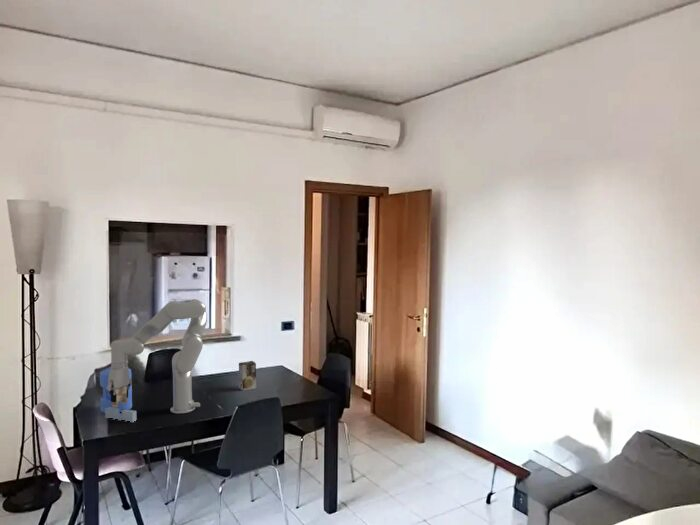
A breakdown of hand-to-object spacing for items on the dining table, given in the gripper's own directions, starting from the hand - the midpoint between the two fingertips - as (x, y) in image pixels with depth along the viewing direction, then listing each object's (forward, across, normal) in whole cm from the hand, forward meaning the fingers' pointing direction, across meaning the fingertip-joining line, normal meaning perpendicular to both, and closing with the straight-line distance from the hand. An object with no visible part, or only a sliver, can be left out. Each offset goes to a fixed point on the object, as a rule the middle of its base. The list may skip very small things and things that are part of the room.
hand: (119, 399), depth 258 cm
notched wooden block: (+3, 0, 0) cm, 3 cm away
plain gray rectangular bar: (+10, 0, 0) cm, 10 cm away
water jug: (+11, -12, -14) cm, 21 cm away
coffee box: (+9, -69, +32) cm, 77 cm away
